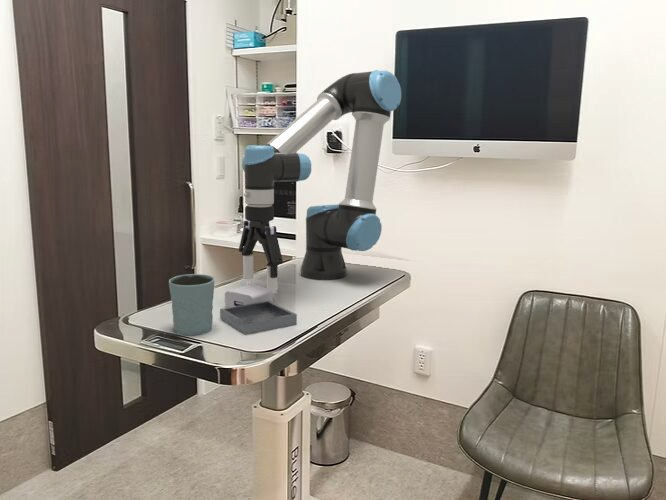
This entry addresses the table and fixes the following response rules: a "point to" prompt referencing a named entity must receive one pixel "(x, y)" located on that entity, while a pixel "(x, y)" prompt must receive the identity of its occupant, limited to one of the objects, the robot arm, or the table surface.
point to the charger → (248, 295)
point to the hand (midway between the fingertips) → (259, 284)
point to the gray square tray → (258, 317)
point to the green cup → (192, 303)
